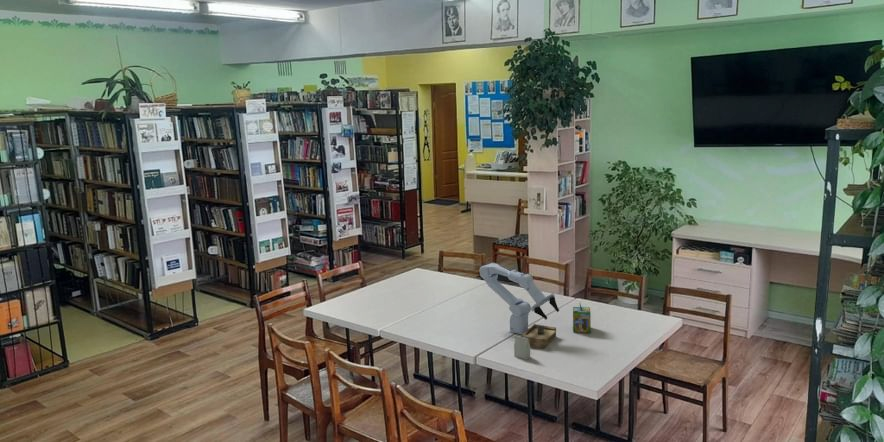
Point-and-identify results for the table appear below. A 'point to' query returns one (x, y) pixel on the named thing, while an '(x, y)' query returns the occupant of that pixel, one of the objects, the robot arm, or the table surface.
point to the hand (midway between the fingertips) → (552, 315)
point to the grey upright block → (522, 348)
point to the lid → (542, 332)
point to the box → (538, 341)
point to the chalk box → (581, 319)
